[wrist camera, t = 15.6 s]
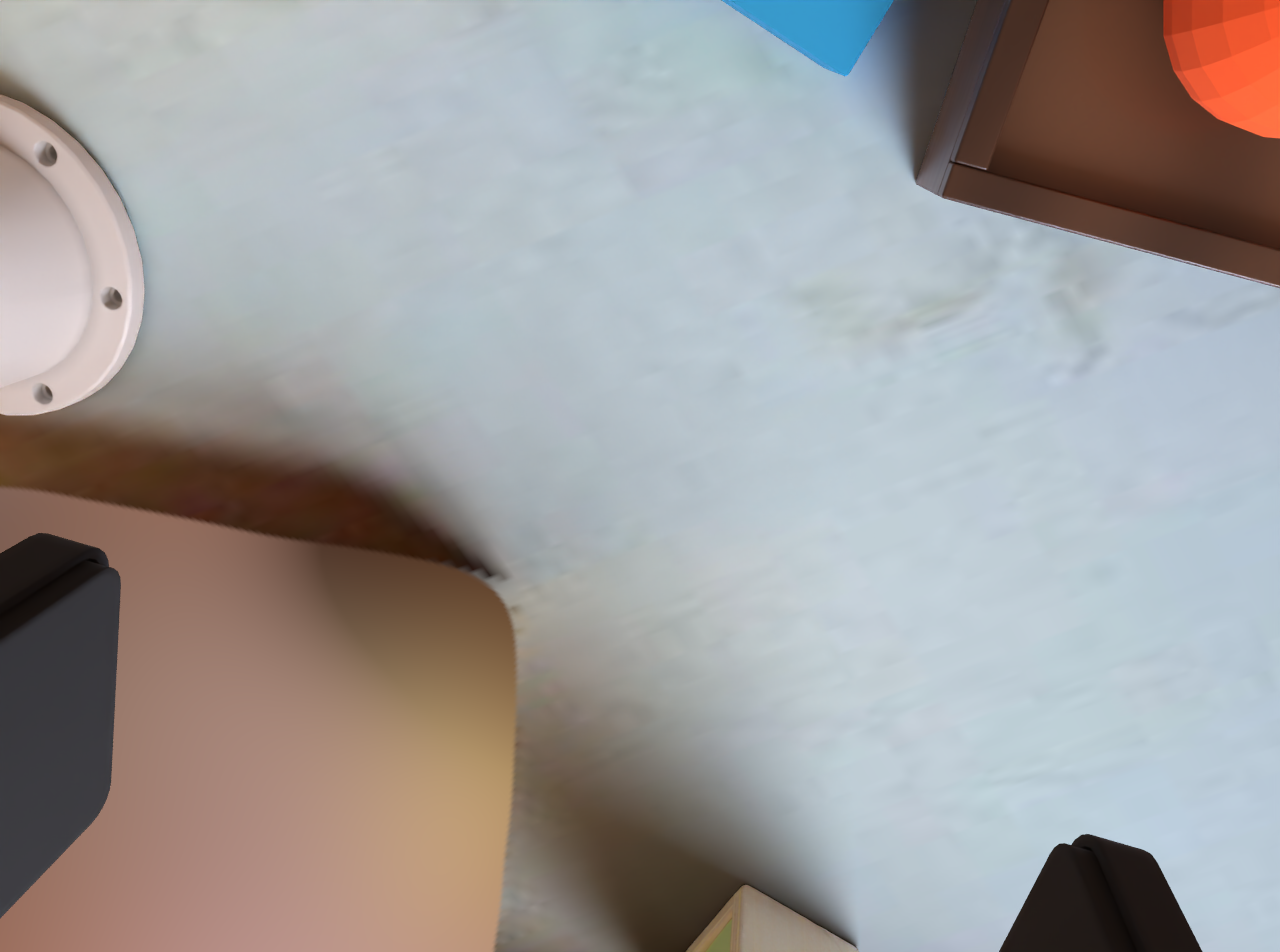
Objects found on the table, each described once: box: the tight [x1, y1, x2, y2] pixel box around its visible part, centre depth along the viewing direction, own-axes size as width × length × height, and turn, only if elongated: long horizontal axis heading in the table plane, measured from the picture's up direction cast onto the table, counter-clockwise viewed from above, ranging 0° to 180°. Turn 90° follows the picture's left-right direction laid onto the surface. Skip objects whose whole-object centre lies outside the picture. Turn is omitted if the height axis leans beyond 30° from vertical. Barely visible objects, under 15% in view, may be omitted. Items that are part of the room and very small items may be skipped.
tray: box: [916, 0, 1280, 288], centre depth 28 cm, size 13×13×6 cm
